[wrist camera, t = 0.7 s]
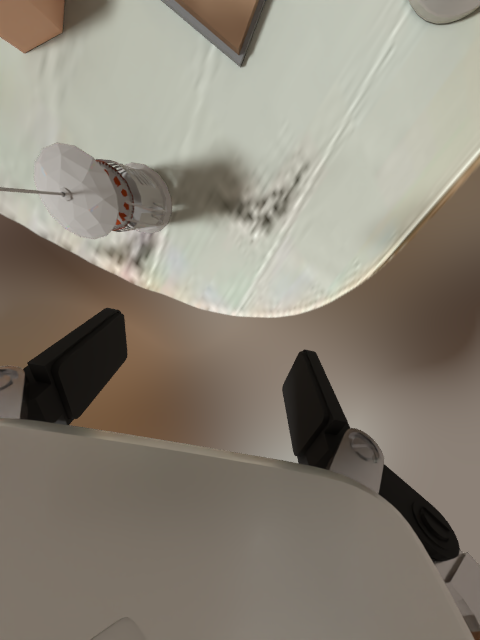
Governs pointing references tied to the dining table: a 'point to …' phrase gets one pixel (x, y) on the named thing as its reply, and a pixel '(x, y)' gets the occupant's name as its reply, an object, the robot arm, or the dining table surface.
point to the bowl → (30, 22)
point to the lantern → (99, 193)
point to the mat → (238, 59)
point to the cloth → (223, 18)
